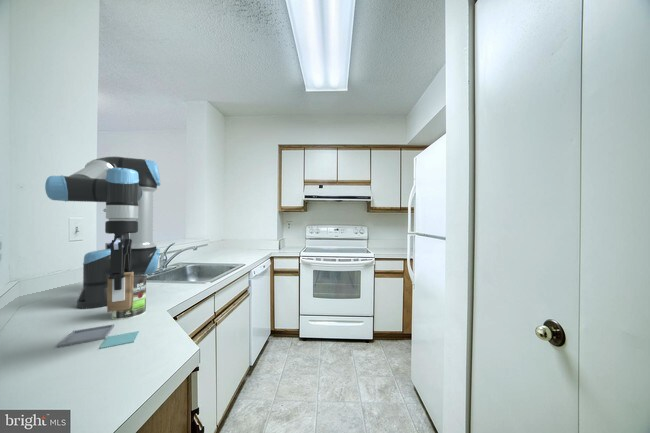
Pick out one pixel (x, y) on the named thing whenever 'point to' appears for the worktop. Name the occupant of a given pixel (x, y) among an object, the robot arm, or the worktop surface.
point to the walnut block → (128, 294)
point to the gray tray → (86, 335)
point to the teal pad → (119, 339)
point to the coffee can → (134, 300)
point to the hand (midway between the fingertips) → (121, 297)
